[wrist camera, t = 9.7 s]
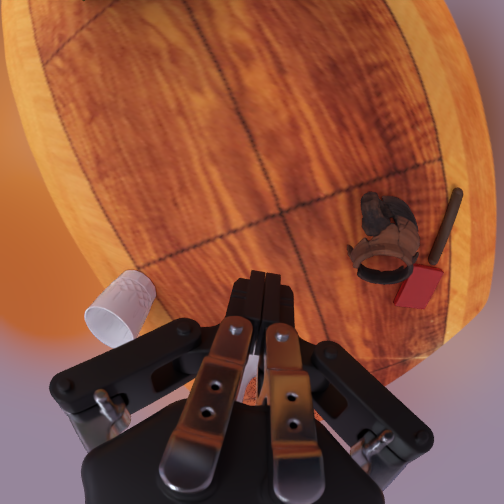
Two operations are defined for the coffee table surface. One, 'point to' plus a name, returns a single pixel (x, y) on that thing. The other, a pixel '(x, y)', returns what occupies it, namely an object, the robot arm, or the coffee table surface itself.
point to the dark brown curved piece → (386, 238)
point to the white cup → (121, 309)
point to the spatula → (424, 277)
